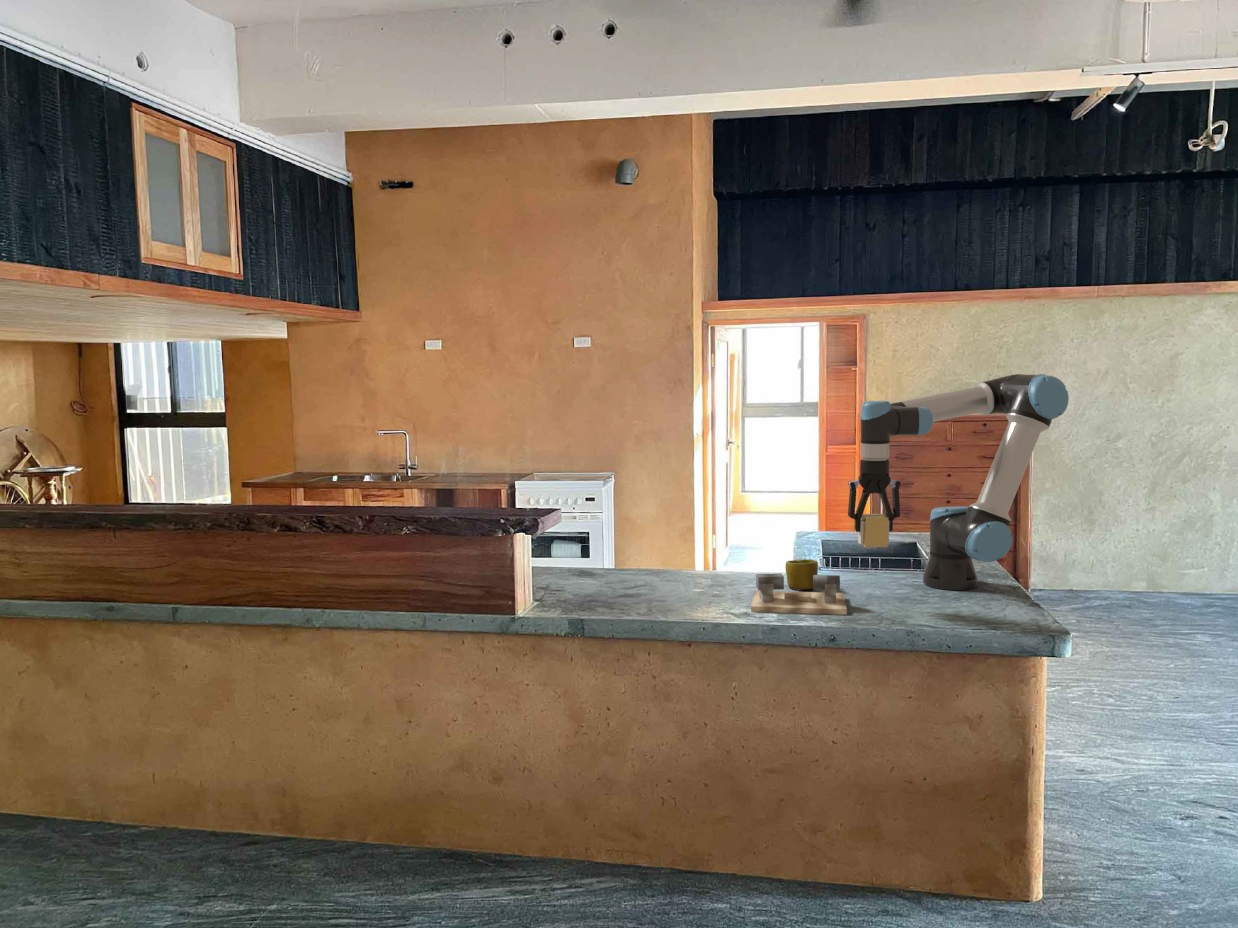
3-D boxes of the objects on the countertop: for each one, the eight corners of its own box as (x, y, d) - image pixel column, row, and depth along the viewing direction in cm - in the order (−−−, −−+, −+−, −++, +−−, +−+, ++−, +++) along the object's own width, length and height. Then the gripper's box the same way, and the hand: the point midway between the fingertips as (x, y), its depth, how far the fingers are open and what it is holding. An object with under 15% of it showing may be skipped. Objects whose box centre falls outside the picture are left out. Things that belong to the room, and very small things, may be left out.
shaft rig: (843, 598, 252) (843, 568, 251) (846, 614, 236) (846, 583, 235) (753, 595, 257) (753, 566, 256) (751, 611, 241) (751, 580, 240)
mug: (824, 587, 257) (813, 553, 259) (790, 596, 259) (779, 563, 261) (826, 584, 269) (815, 552, 270) (793, 593, 271) (783, 562, 273)
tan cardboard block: (859, 542, 245) (859, 513, 244) (881, 542, 245) (882, 513, 244) (865, 547, 240) (865, 517, 239) (887, 547, 239) (888, 517, 238)
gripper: (906, 456, 243) (904, 539, 246) (835, 457, 243) (834, 541, 246) (914, 459, 236) (913, 545, 239) (842, 461, 236) (841, 547, 239)
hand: (873, 543), depth 242 cm, fingers closed on tan cardboard block, 6 cm apart
